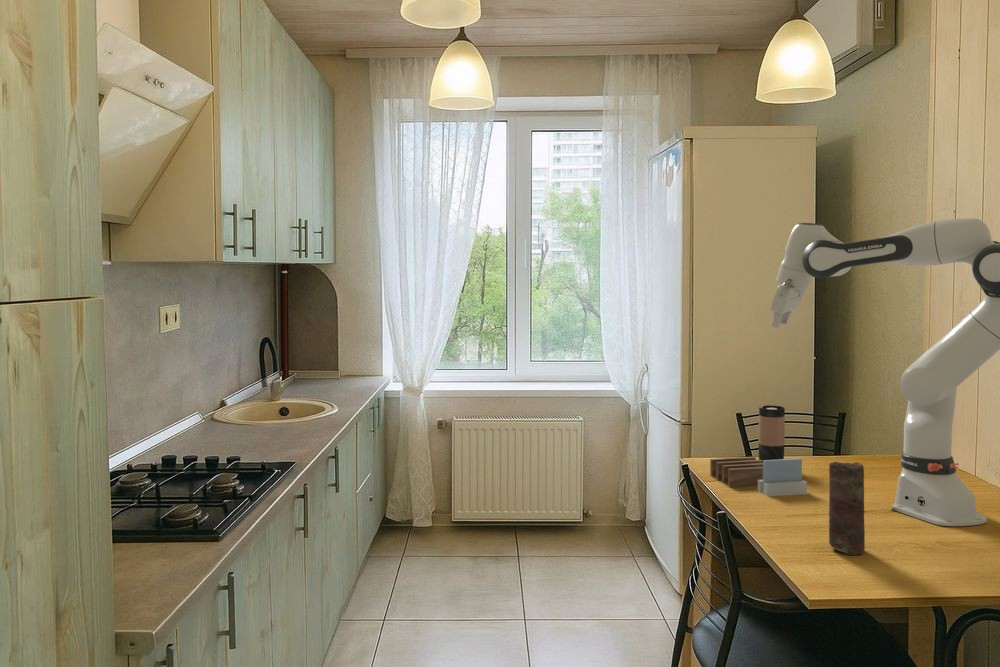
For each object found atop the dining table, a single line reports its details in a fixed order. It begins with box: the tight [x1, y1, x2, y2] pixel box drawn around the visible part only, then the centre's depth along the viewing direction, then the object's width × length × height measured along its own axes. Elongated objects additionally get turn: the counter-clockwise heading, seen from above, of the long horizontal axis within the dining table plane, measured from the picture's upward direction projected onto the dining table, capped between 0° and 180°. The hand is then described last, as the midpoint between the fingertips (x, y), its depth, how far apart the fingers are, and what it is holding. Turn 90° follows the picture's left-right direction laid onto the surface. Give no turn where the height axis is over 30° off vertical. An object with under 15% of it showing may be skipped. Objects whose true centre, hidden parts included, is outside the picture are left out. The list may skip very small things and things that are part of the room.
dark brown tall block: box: [828, 461, 866, 556], centre depth 181 cm, size 8×7×20 cm
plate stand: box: [756, 480, 809, 497], centre depth 225 cm, size 7×12×4 cm, turn 100°
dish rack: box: [709, 456, 763, 489], centre depth 238 cm, size 14×14×6 cm
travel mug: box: [758, 404, 786, 463], centre depth 251 cm, size 8×8×20 cm
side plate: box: [762, 457, 803, 494], centre depth 225 cm, size 1×11×9 cm, turn 100°
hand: (779, 325), depth 232 cm, fingers open, 8 cm apart
